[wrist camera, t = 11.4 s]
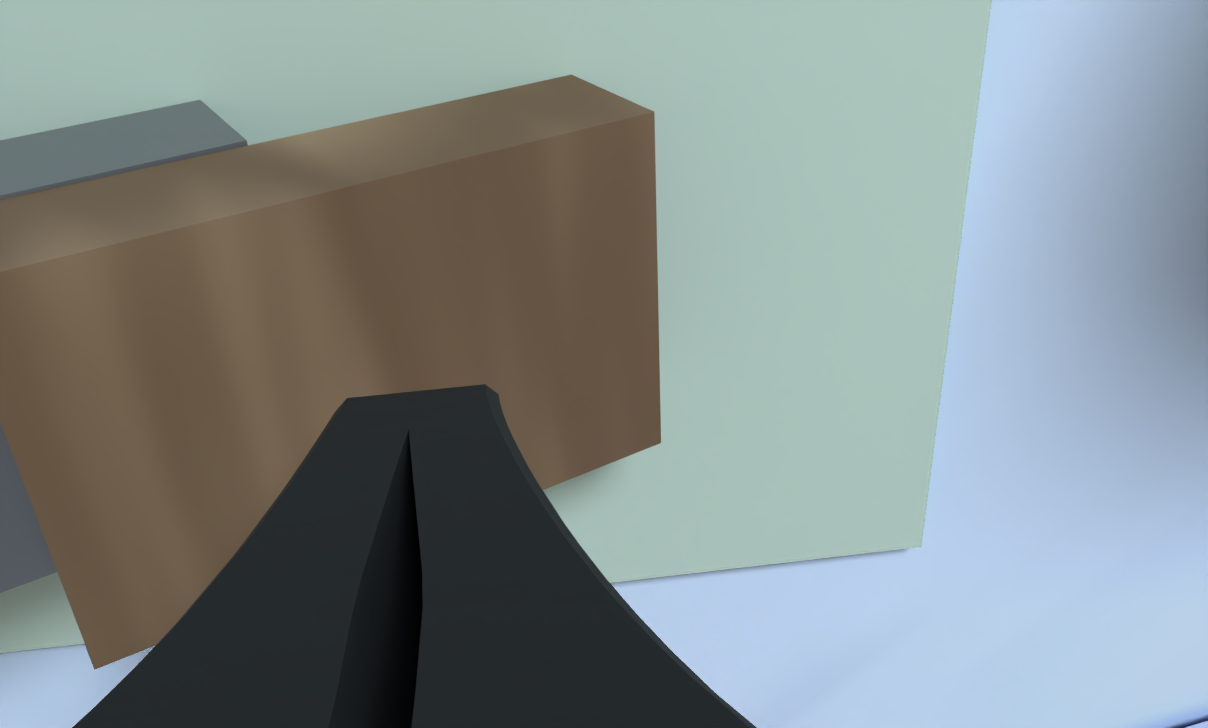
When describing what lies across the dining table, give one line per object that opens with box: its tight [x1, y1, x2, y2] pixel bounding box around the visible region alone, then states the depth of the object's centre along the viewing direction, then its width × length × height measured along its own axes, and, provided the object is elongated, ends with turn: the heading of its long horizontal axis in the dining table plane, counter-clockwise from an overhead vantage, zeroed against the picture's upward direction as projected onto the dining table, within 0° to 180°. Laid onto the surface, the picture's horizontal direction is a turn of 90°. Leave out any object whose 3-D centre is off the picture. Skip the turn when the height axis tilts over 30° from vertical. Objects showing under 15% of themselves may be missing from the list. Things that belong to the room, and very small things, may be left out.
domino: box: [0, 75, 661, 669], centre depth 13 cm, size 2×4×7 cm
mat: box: [0, 0, 992, 653], centre depth 14 cm, size 25×12×1 cm, turn 93°
